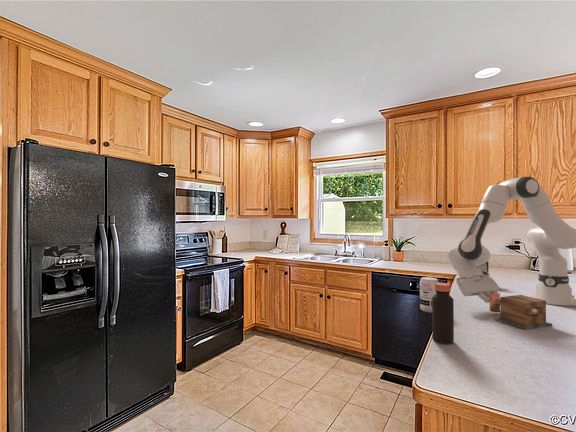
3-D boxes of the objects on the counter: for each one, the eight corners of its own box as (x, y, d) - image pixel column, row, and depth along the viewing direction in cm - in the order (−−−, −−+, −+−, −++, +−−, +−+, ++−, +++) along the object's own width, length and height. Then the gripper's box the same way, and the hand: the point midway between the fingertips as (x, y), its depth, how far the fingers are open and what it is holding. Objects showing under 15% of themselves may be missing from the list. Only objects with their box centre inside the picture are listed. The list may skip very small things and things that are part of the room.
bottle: (450, 346, 106) (450, 286, 107) (429, 341, 111) (429, 284, 111) (456, 340, 111) (455, 283, 112) (435, 335, 116) (435, 281, 116)
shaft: (493, 309, 144) (493, 291, 145) (539, 322, 126) (538, 302, 126) (487, 310, 143) (487, 292, 143) (532, 323, 125) (531, 303, 125)
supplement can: (437, 308, 151) (437, 277, 151) (440, 313, 143) (439, 280, 143) (419, 307, 153) (419, 276, 154) (420, 312, 146) (420, 279, 146)
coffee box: (489, 287, 198) (488, 261, 198) (477, 287, 199) (477, 261, 199) (483, 284, 207) (483, 259, 207) (472, 284, 208) (472, 259, 208)
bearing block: (522, 316, 138) (521, 294, 138) (552, 325, 127) (552, 300, 127) (494, 320, 133) (494, 296, 133) (523, 329, 122) (523, 304, 122)
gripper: (458, 274, 149) (476, 300, 139) (490, 272, 155) (510, 296, 145) (450, 282, 153) (467, 307, 143) (482, 279, 159) (501, 303, 150)
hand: (489, 302), depth 144 cm, fingers closed
